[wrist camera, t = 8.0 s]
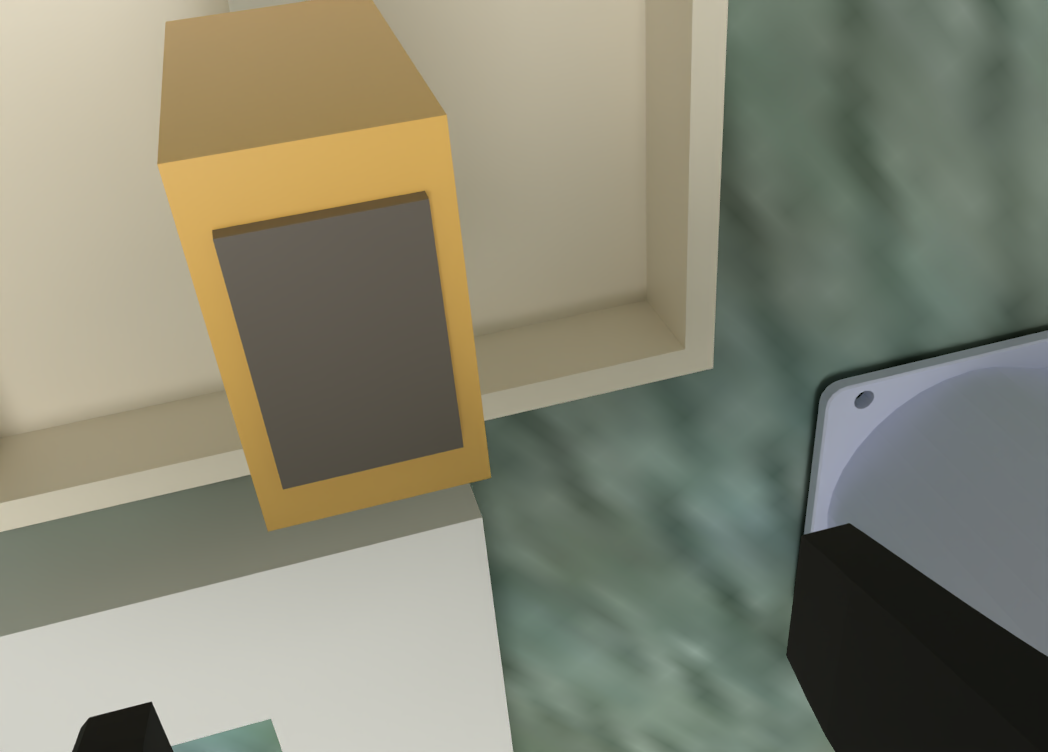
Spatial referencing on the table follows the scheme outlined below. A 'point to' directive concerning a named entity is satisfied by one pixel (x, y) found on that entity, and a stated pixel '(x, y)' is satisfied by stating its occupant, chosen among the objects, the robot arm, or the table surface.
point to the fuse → (323, 253)
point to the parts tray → (483, 203)
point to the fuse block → (255, 624)
